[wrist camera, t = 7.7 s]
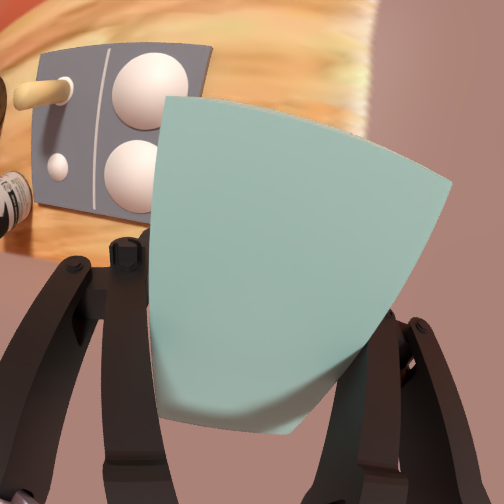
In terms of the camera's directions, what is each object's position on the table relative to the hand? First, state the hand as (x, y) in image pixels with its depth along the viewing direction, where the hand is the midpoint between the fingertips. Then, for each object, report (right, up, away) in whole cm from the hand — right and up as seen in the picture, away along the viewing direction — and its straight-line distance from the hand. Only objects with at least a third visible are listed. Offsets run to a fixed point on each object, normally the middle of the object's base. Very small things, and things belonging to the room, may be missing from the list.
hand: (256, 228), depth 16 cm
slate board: (-14, +10, +6) cm, 19 cm away
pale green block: (0, 0, 0) cm, 0 cm away
